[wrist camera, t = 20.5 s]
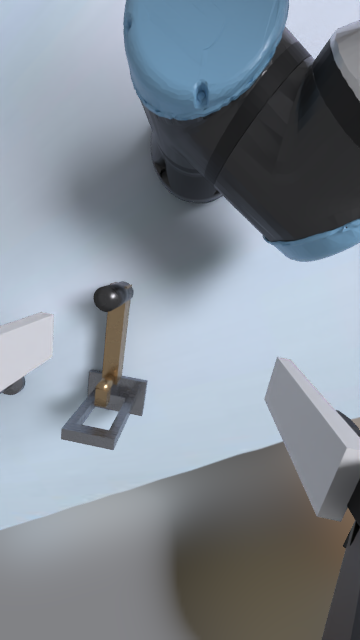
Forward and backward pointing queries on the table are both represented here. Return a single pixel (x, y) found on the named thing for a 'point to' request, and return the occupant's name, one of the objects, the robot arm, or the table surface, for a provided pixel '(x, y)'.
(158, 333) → the table surface
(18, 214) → the table surface
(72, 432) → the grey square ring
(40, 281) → the table surface
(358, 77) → the robot arm
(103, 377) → the hook bar
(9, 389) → the dark grey metal pedestal
